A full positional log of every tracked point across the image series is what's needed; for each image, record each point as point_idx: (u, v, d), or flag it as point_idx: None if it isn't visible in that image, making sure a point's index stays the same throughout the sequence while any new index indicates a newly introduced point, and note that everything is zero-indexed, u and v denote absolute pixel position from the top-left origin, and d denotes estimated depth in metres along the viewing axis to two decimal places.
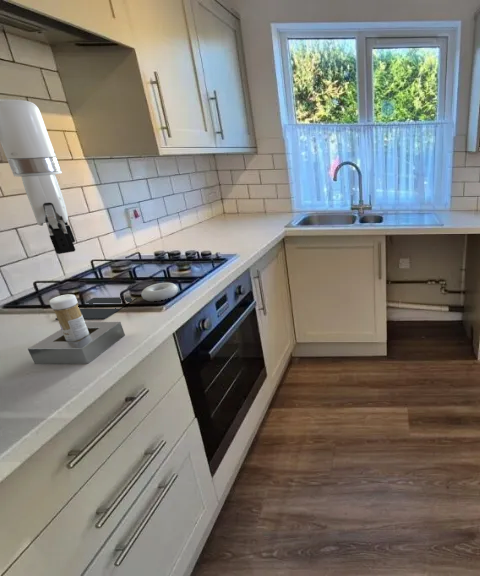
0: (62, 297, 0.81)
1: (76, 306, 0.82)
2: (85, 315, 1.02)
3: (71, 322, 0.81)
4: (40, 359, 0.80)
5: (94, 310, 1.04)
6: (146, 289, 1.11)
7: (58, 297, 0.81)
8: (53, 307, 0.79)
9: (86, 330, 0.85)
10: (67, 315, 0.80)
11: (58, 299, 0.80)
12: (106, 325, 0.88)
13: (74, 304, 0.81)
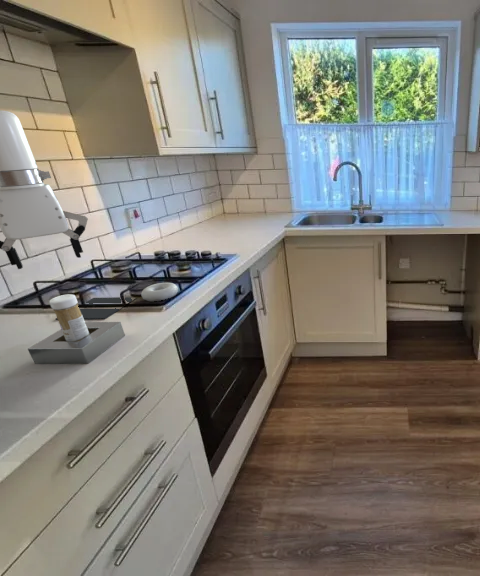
0: (62, 297, 0.81)
1: (76, 306, 0.82)
2: (85, 315, 1.02)
3: (71, 322, 0.81)
4: (40, 359, 0.80)
5: (94, 310, 1.04)
6: (146, 289, 1.10)
7: (58, 297, 0.81)
8: (53, 307, 0.79)
9: (86, 330, 0.85)
10: (67, 315, 0.80)
11: (58, 299, 0.80)
12: (106, 325, 0.88)
13: (74, 304, 0.81)
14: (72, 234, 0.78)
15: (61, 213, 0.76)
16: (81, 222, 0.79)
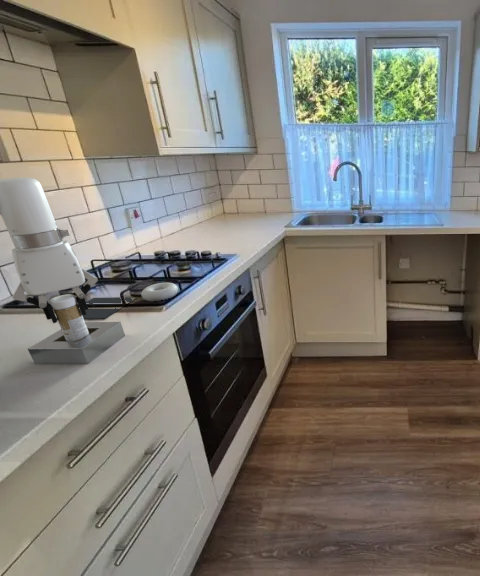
0: (62, 297, 0.81)
1: (76, 306, 0.82)
2: (85, 315, 1.02)
3: (71, 322, 0.81)
4: (40, 359, 0.80)
5: (94, 310, 1.04)
6: (146, 289, 1.11)
7: (58, 297, 0.81)
8: (53, 307, 0.79)
9: (86, 330, 0.85)
10: (67, 315, 0.80)
11: (58, 299, 0.80)
12: (106, 325, 0.88)
13: (74, 304, 0.81)
14: (80, 293, 0.82)
15: (79, 268, 0.80)
16: (90, 282, 0.83)
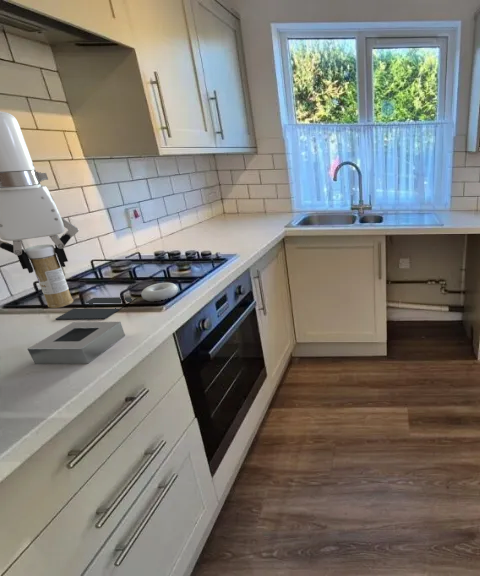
0: (39, 246, 0.76)
1: (54, 257, 0.77)
2: (85, 315, 1.02)
3: (48, 273, 0.76)
4: (40, 359, 0.80)
5: (94, 310, 1.04)
6: (146, 289, 1.11)
7: (35, 246, 0.76)
8: (29, 256, 0.74)
9: (65, 284, 0.80)
10: (44, 265, 0.76)
11: (35, 248, 0.75)
12: (106, 325, 0.88)
13: (52, 254, 0.77)
14: (58, 242, 0.77)
15: (57, 215, 0.75)
16: (70, 232, 0.78)
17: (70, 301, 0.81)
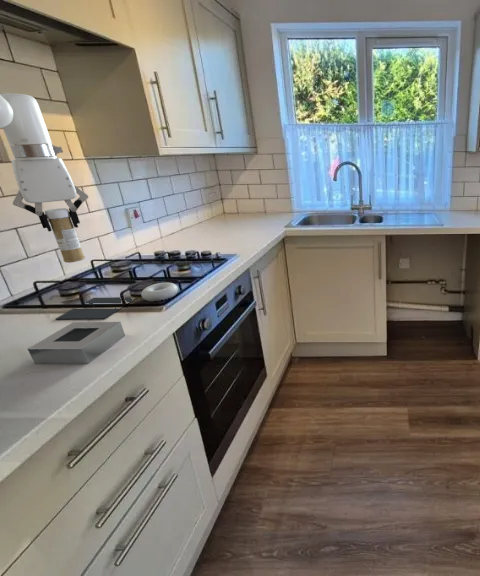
0: (56, 209, 0.91)
1: (69, 218, 0.92)
2: (85, 315, 1.02)
3: (64, 232, 0.91)
4: (40, 359, 0.80)
5: (94, 310, 1.04)
6: (146, 289, 1.11)
7: (52, 209, 0.91)
8: (48, 216, 0.89)
9: (78, 242, 0.94)
10: (60, 225, 0.90)
11: (52, 210, 0.90)
12: (106, 325, 0.88)
13: (67, 216, 0.91)
14: (72, 206, 0.91)
15: (71, 182, 0.90)
16: (81, 197, 0.93)
17: (82, 257, 0.96)
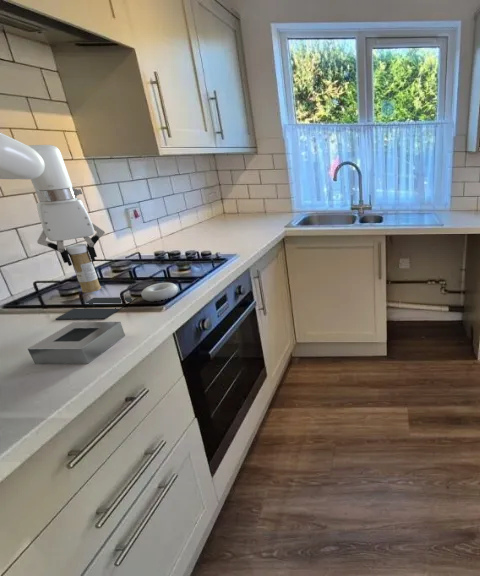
0: (75, 245, 0.99)
1: (87, 253, 1.00)
2: (85, 315, 1.02)
3: (83, 266, 1.00)
4: (40, 359, 0.80)
5: (94, 310, 1.04)
6: (146, 289, 1.11)
7: (72, 245, 0.99)
8: (68, 252, 0.97)
9: (95, 274, 1.03)
10: (80, 259, 0.99)
11: (72, 246, 0.98)
12: (106, 325, 0.88)
13: (85, 251, 1.00)
14: (90, 242, 1.00)
15: (89, 221, 0.98)
16: (98, 234, 1.01)
17: (99, 287, 1.04)
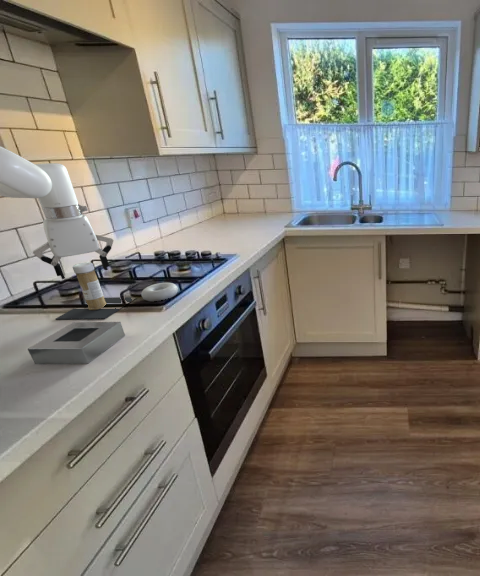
0: (82, 264, 1.01)
1: (93, 271, 1.02)
2: (85, 315, 1.02)
3: (89, 284, 1.02)
4: (40, 359, 0.80)
5: (94, 310, 1.04)
6: (146, 289, 1.11)
7: (79, 264, 1.01)
8: (75, 271, 1.00)
9: (101, 292, 1.05)
10: (86, 278, 1.01)
11: (79, 265, 1.00)
12: (106, 325, 0.88)
13: (92, 270, 1.02)
14: (102, 252, 1.02)
15: (94, 237, 1.00)
16: (108, 243, 1.03)
17: None
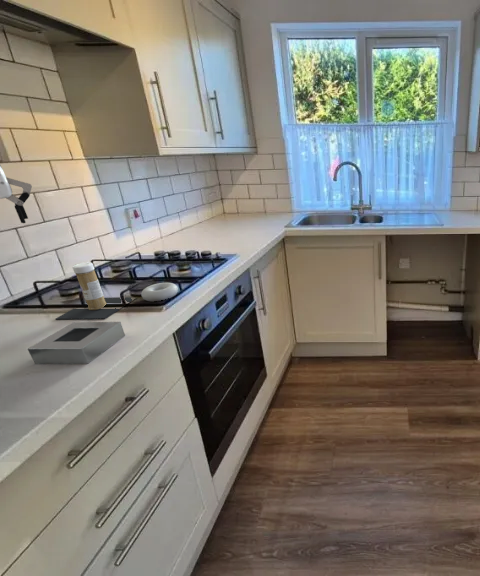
0: (82, 264, 1.01)
1: (93, 271, 1.02)
2: (85, 315, 1.02)
3: (89, 284, 1.02)
4: (40, 359, 0.80)
5: (94, 310, 1.04)
6: (146, 289, 1.11)
7: (79, 264, 1.01)
8: (75, 271, 0.99)
9: (101, 292, 1.05)
10: (86, 278, 1.01)
11: (79, 265, 1.00)
12: (106, 325, 0.88)
13: (92, 270, 1.02)
14: (16, 200, 0.82)
15: (3, 179, 0.79)
16: (25, 189, 0.83)
17: None
